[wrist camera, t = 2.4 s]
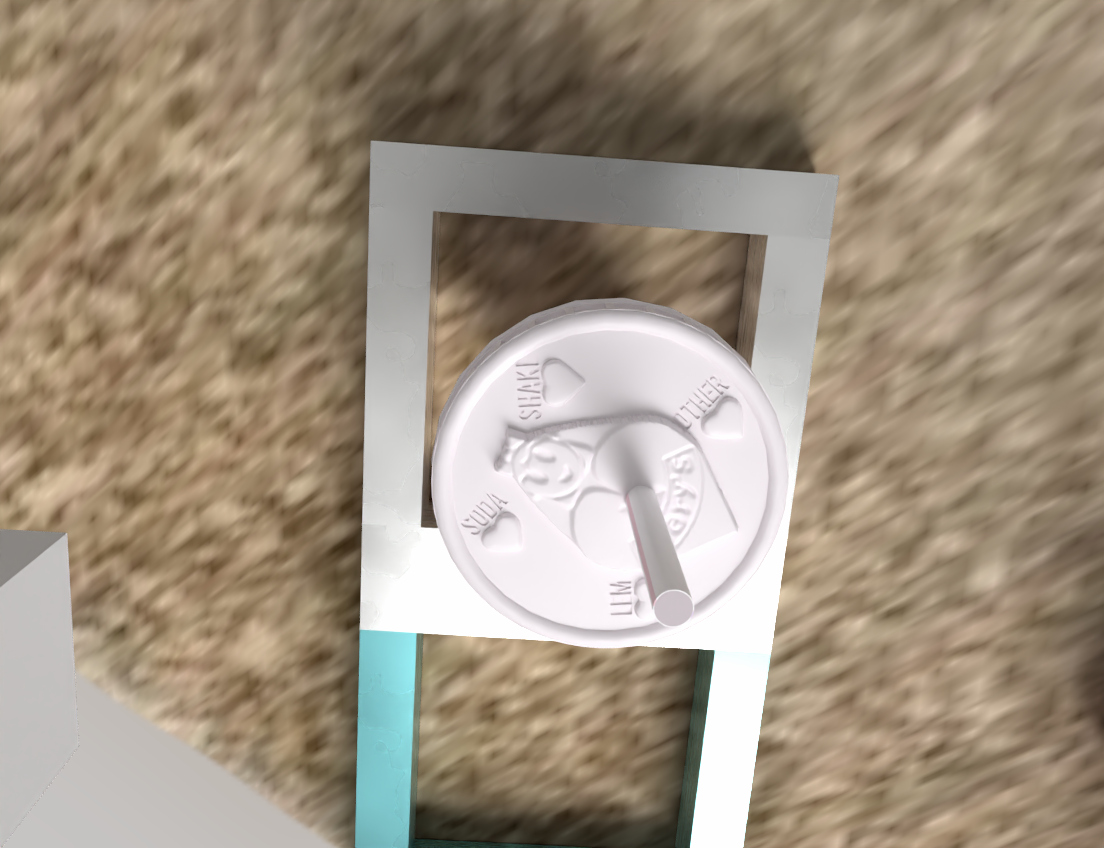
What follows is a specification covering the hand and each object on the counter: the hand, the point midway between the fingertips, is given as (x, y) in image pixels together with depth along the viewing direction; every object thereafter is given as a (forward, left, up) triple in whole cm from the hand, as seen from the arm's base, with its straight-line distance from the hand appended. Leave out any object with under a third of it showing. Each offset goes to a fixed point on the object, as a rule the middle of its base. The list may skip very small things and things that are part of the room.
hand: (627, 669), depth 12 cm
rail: (+5, 0, -16) cm, 16 cm away
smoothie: (0, 0, -16) cm, 16 cm away
